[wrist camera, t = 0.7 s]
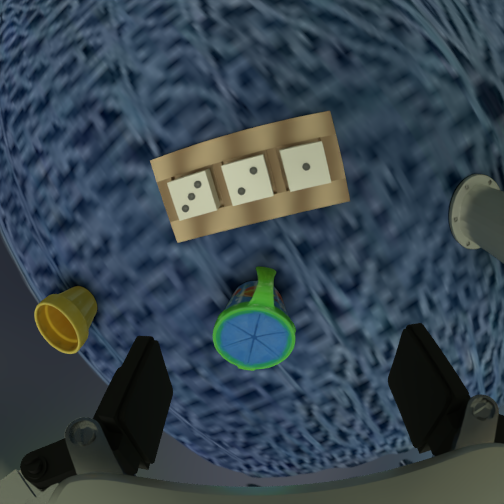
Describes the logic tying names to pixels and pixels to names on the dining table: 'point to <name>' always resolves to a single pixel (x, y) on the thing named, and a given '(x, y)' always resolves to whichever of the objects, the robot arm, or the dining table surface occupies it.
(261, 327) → the snack cup
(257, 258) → the dining table surface
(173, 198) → the tile three
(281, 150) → the tile one
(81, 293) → the plant pot
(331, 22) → the dining table surface
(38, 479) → the robot arm
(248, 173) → the tile two
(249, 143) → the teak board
